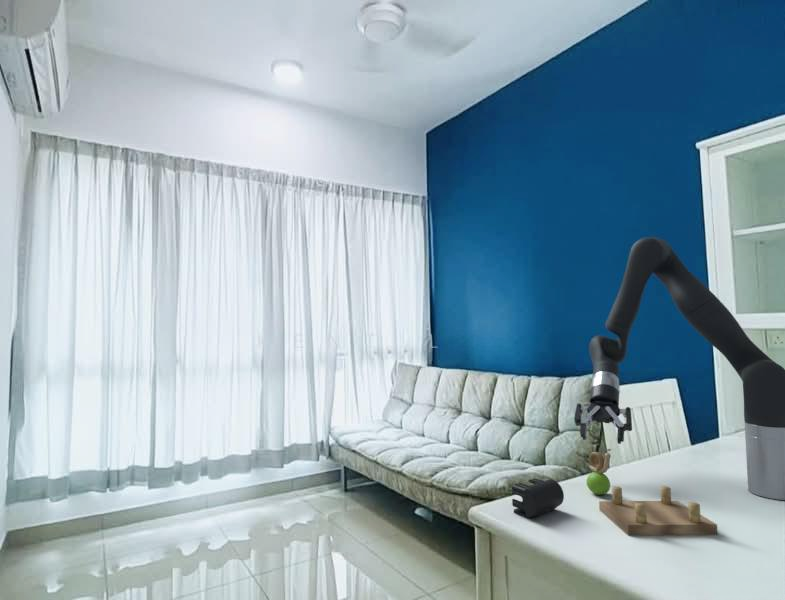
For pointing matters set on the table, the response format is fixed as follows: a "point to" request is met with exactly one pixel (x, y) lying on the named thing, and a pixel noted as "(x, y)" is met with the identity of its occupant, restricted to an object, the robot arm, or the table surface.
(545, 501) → the end cap
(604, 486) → the snail figurine
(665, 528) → the wooden peg board
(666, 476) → the table surface
